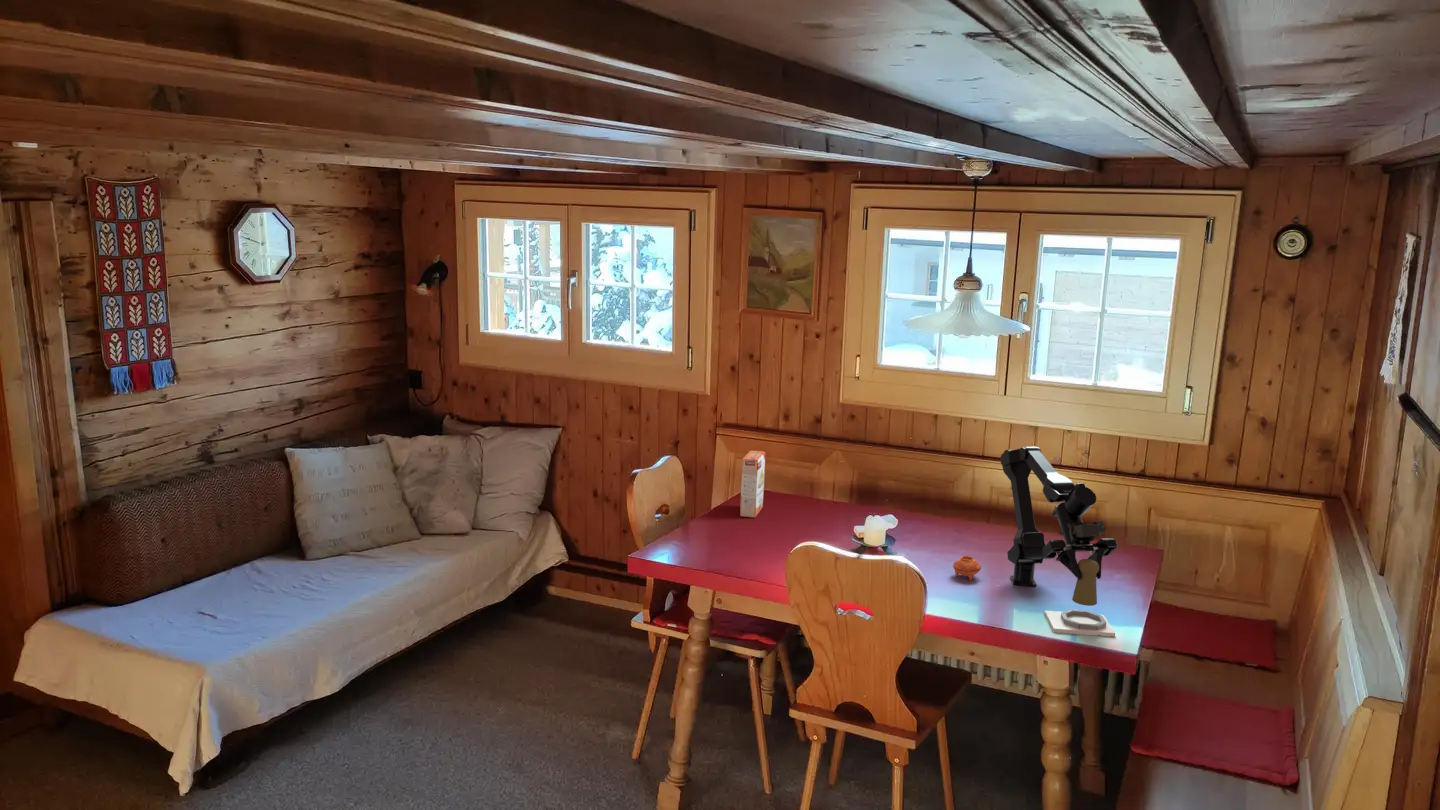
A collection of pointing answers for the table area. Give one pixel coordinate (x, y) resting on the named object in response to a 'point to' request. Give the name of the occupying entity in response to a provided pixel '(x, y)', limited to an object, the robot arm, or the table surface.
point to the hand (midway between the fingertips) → (1089, 578)
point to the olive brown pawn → (1086, 583)
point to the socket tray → (1079, 622)
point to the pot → (966, 566)
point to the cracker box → (752, 484)
